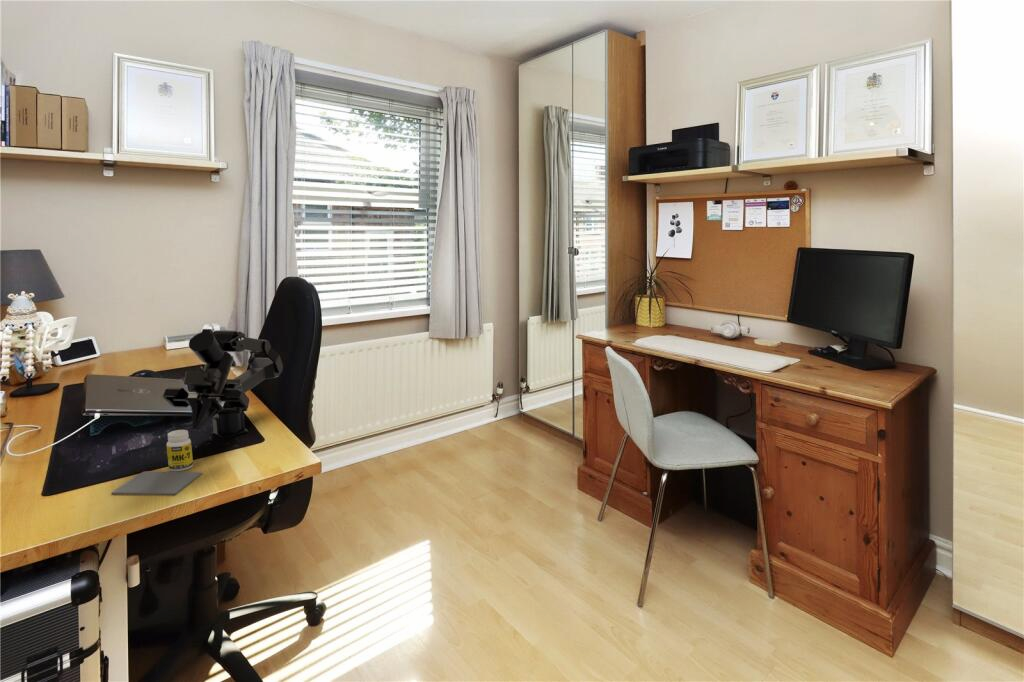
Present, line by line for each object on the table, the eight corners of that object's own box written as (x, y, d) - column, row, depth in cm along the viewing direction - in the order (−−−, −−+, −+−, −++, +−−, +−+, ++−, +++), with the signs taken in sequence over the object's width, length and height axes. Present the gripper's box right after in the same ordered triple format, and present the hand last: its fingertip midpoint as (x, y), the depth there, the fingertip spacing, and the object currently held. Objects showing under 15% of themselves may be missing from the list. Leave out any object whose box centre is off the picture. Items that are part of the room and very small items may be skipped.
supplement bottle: (171, 473, 121) (167, 438, 120) (167, 467, 125) (163, 432, 123) (195, 468, 124) (192, 433, 123) (190, 461, 128) (187, 427, 126)
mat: (144, 473, 121) (143, 471, 121) (202, 473, 121) (202, 472, 121) (111, 494, 112) (111, 492, 112) (175, 495, 112) (175, 493, 112)
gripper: (162, 355, 132) (137, 414, 123) (240, 356, 132) (220, 415, 123) (184, 378, 141) (162, 434, 132) (257, 379, 141) (240, 435, 132)
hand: (195, 429), depth 130 cm, fingers closed
